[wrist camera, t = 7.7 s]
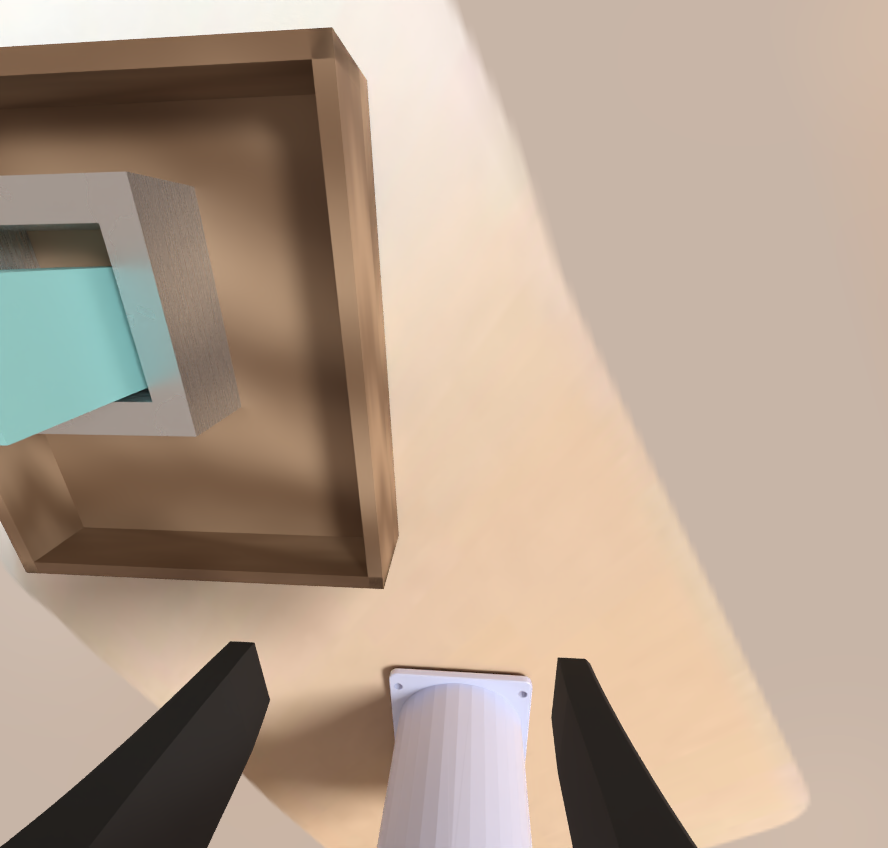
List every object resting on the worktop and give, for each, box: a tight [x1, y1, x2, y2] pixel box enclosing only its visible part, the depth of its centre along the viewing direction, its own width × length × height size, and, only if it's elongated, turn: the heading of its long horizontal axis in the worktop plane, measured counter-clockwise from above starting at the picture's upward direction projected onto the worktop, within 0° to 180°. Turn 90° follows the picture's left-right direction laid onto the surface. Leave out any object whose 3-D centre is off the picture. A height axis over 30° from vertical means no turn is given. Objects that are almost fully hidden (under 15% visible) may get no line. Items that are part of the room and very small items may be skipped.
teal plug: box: [0, 266, 148, 445], centre depth 13 cm, size 4×4×7 cm
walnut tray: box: [0, 27, 399, 589], centre depth 16 cm, size 18×16×4 cm
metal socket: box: [0, 171, 241, 437], centre depth 15 cm, size 8×8×3 cm
